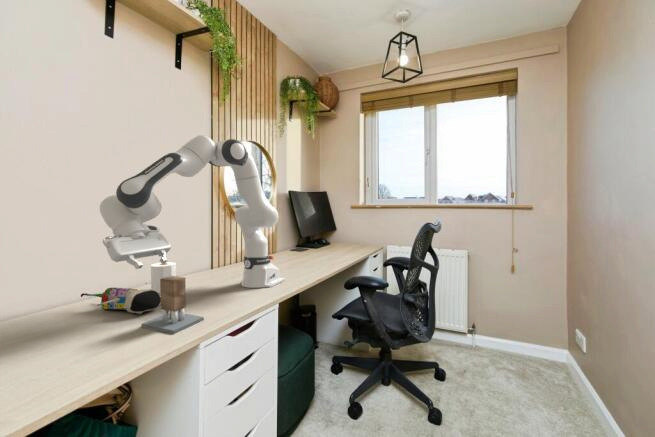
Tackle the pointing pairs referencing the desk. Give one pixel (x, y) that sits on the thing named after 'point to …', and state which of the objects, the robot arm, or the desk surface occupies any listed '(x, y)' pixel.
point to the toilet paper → (161, 273)
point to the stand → (172, 321)
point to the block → (173, 293)
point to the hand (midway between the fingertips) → (153, 264)
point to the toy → (128, 299)
